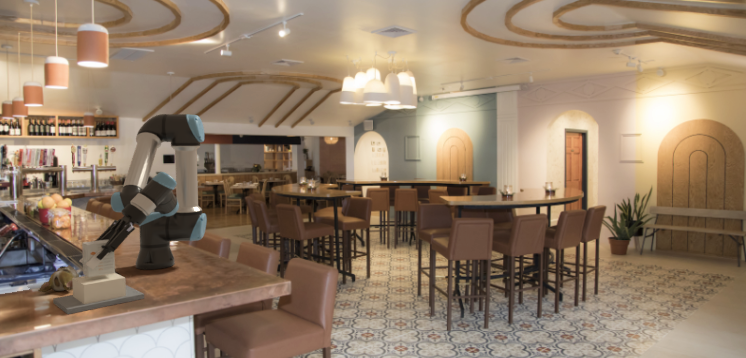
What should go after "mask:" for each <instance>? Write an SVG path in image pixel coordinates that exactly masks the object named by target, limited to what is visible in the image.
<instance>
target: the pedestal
mask: <svg viewBox="0 0 746 358" xmlns="http://www.w3.org/2000/svg"><path fill="white" fill-rule="evenodd" d="M72 282H73V289H72V294H70V295H63V296H59V297H58V296H57V297H54V298H53V300H52V301H53V302H52V303H53V304H54V305H55V306H57V308H59V309H60V310H61V311H63V312H64V313H65V314H67V315H71V314H77V313H81V312H85V311H87V312H88V311H90V310H96V309H100V308H106V307H110V306H116V305H119V304H123V303H129V302H134V301H137V300H143V299H145V293H143V292H141V291H139V290H137V289H135V288H133V287H131V286H129V285H128V284H126V277H125V276H122V275H121V274H118V273H117V272H115V273H111V274H105V275H99V276H93V277H87V276H86V275H82V276H79V277H76V278H72Z"/></svg>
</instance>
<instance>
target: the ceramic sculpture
mask: <svg viewBox="0 0 746 358" xmlns="http://www.w3.org/2000/svg"><path fill="white" fill-rule="evenodd" d="M56 269H57V270H55V271H54V272H53V273H52V274H51V275H50V278H49V279H48V281H45V282H43V284H41V285H40V287H39V289H38V290H37V291H38V292H39V293H40V292H41V293H47V292H48V293H49V292H50V291H51V290H53V291H55V292H63V291H64V290H65V291H73V282H72V278H76V277H80V274H79V273H78V271H77V270H76V269H75V268H74V267H73V266H71V264H69V265H67V266H64V265H62V266H59V267H58V268H56Z"/></svg>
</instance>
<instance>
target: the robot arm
mask: <svg viewBox="0 0 746 358" xmlns="http://www.w3.org/2000/svg"><path fill="white" fill-rule="evenodd" d="M204 128H205V127H204V124H203V121H202V119H201V117H200V116H199V115H196V114H189V113H187V114H186V113H185V114H184V113H183V114H182V113H181V114H180V113H179V114H178V113H177V114H174V113H173V114H170V113H162V114H156V115H154V116H152V117H151V118H149V119H148V120H147V121H145V122H144V123H143V124H142V126H141V127H140V128H139V130H138V131H137V134H136V136H135V141H136V146H135V148H134V153H133V155H132V158H131V161H130V165H129V167H128V170H127V173H126V176H125V180H124V183H123V186H122V189H121V191H115V192H114V193H112V195H111V197H110V206H111V209H112V211H113V212H115V213H121V214H122V215H123V217H121V218H119V219H118V220H117V219H115V220H113V221H112V223H111V225H109V227H108V228H106V229H105V230H104V231H103V232H102V233H101V234H100V235H99V237H97V239H95V241H99V240H108V239H109V241H108V242H107V243H106V244H105V246H104V245H102V246H101V247H102V248H100V249H99V250H98V252H97V253H96V254H95V255H94V256H93V257H92V258H91V259H90V260H89V261H88V262H87V263H86V265H87V266H88V267H90V268H91V269H94V268H95V267H96V266H97V265H98V264H99V263H100V262H101V261H102V260H103V259H104V257H105V256H106V255H107V254H108V252H109V253H110V252H111V251H112V252H114V253H115V251H116V250H117V249H118V248H119V246H120V245H122V243H124V241H125V240H126V239H127V238H128V236H130V234H131V233H133V232H134V231H135V230H136V227H134V225H136V226H139V251H138V254H137V256H136V261H135V268H136V269H138V270H160V269H166V268H170V267H173V266H174V265H175V263H176V262H175V257H174V254H173V251H172V248H171V245H170V244H171V242H194V241H201V240H202V239H203V237H204V236H205V233H206V229H207V222H208V220H207V219H208V218H207V214H206V213H205V212H204V213H203V209H202V207H200V206H199V192H198V191H199V190H198V189H199V188H198V187H199V186H198V154H197V153H198V149H200V148H201V143H204V141H205V129H204ZM162 143H170V147H171V148H172V149H173V150H174V156H175V157H174V161H175V178H173V177H172V176H171V175H170V174H169V173H167V172H166V171H165V172H164V171H160V172H158V173H156V175H155V176H154V177H152V178H151V180H150V181H149V182H148V180H149V177H150V174H151V170H152V167H153V163H154V160H155V157H156V154H157V150H158V149H159V148H160V147H161V145H162ZM175 189H176V190H175ZM174 190H175V191H176V192H175V193H176V196H175V194H174ZM79 263H81V264H82V265H83V257H82V258H80V259H79Z"/></svg>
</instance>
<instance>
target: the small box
mask: <svg viewBox="0 0 746 358" xmlns="http://www.w3.org/2000/svg"><path fill="white" fill-rule="evenodd" d="M108 241H109V239H108V240H99V241H96V240H93V241H83V242H82V243H81V246H82V248H81V249H82V258H83V264H82V270H83V271H82V272H83V273H82V274H83V276H87V277H93V276H99V275H105V274H111V273H116V261H115V251H114V252H112V251H111V252H110V253H109V252H108V254H107V255H106V256H105V257H104V259H103V260H102V261H101V262H100V263H99V264H98V265H97V266H96V267H95V268H94V269H91V268H90V267H88V266H87V265H86V263H87V262H88V261H89V260H90V259H91V258H92V257H93V256H94V255H95V254H96V253H97V252H98V250H99V249H100V248H102V247H101V246H102V245H104V246H105V244H106V243H107V242H108Z"/></svg>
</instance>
